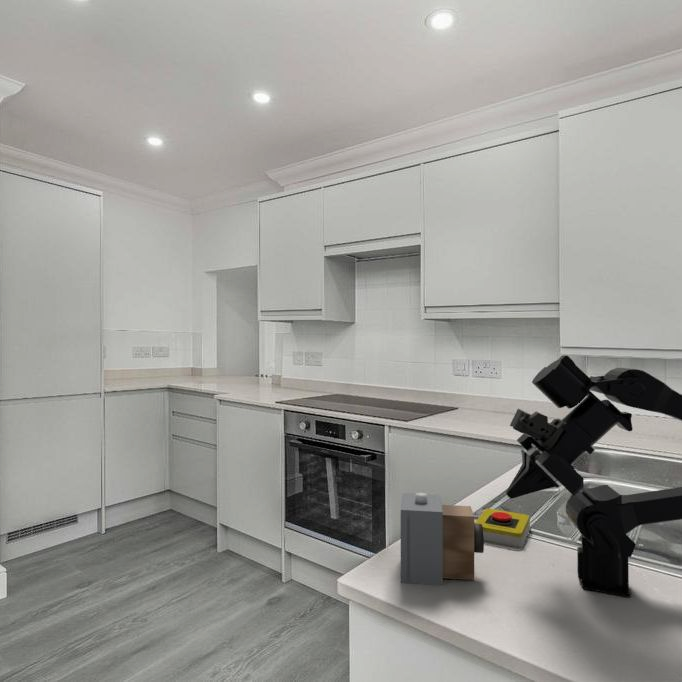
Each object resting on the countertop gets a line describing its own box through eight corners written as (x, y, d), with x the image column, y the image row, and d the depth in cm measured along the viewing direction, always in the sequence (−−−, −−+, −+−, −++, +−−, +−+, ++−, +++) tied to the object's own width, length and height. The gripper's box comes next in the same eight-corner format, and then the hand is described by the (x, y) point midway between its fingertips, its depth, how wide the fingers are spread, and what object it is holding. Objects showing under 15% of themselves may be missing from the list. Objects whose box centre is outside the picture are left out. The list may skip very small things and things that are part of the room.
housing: (440, 560, 83) (439, 487, 83) (442, 585, 75) (442, 504, 75) (402, 557, 84) (402, 486, 84) (400, 582, 76) (400, 502, 76)
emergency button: (469, 521, 91) (487, 499, 104) (469, 544, 91) (487, 519, 104) (521, 530, 87) (532, 506, 100) (521, 554, 87) (532, 527, 100)
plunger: (480, 566, 80) (479, 506, 80) (484, 580, 75) (484, 517, 76) (440, 563, 81) (440, 504, 82) (442, 577, 76) (441, 514, 77)
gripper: (529, 387, 86) (466, 447, 88) (559, 399, 68) (478, 474, 69) (576, 432, 85) (511, 492, 86) (619, 457, 66) (536, 532, 68)
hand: (508, 495), depth 77 cm, fingers closed
